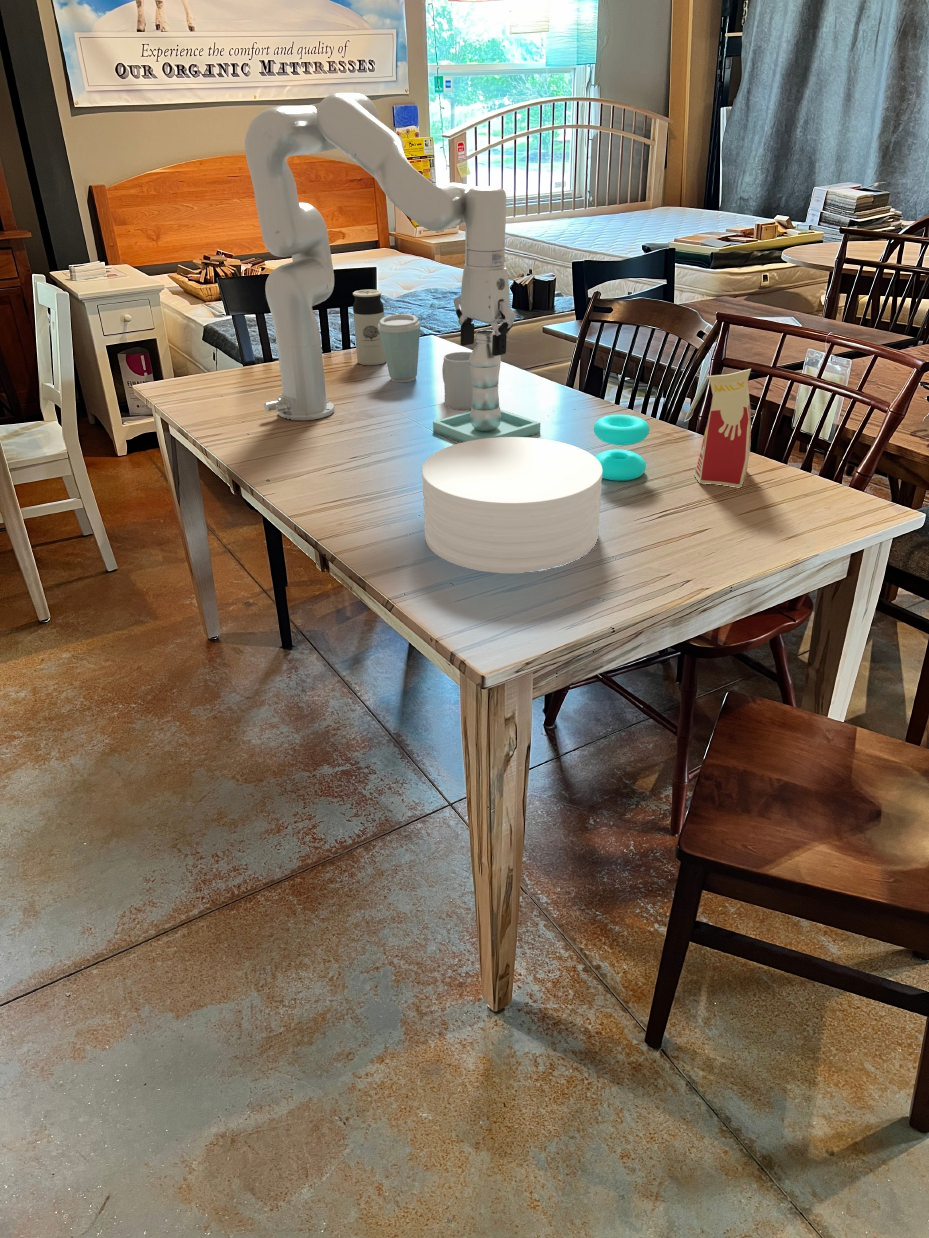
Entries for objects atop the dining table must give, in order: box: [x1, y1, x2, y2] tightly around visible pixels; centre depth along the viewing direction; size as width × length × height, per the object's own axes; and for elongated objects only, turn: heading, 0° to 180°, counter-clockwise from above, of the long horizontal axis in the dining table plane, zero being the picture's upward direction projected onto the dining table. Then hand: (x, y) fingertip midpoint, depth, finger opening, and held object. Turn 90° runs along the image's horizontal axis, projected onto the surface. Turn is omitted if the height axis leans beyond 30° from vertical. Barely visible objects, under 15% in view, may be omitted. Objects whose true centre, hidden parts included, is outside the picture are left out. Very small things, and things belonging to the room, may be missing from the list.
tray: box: [432, 408, 541, 443], centre depth 182 cm, size 16×16×2 cm
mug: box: [441, 351, 473, 411], centre depth 198 cm, size 12×8×11 cm
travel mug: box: [352, 289, 387, 366], centre depth 229 cm, size 8×8×18 cm
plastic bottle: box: [469, 329, 502, 431], centre depth 177 cm, size 6×7×20 cm
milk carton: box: [694, 368, 752, 488], centre depth 154 cm, size 9×9×20 cm
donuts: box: [593, 414, 650, 482], centre depth 159 cm, size 10×10×10 cm
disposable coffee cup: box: [377, 313, 422, 383], centre depth 215 cm, size 11×11×15 cm
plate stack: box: [421, 437, 603, 574], centre depth 138 cm, size 28×28×12 cm
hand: (482, 349), depth 174 cm, fingers open, 9 cm apart
